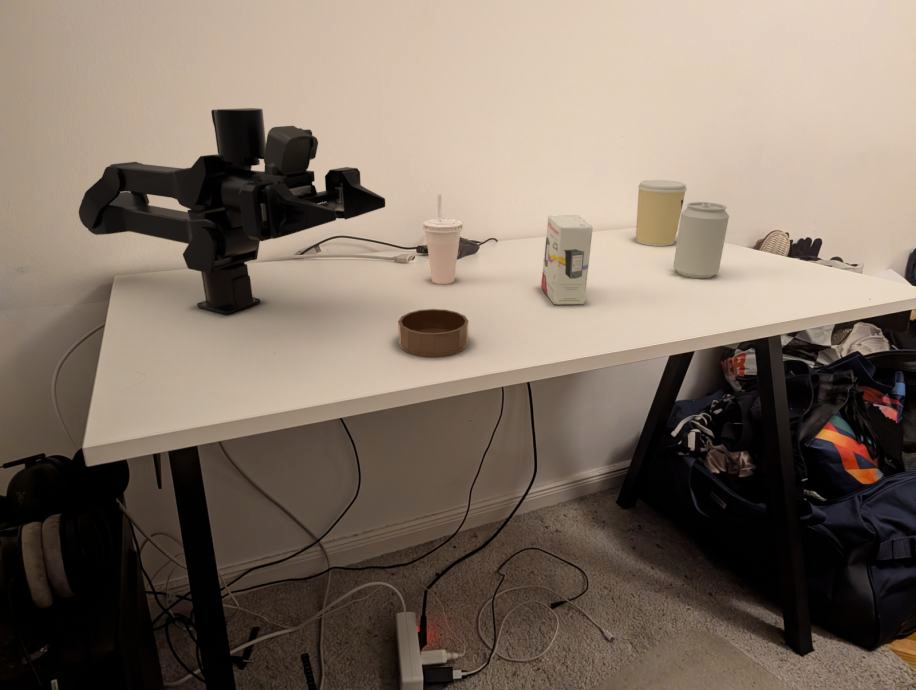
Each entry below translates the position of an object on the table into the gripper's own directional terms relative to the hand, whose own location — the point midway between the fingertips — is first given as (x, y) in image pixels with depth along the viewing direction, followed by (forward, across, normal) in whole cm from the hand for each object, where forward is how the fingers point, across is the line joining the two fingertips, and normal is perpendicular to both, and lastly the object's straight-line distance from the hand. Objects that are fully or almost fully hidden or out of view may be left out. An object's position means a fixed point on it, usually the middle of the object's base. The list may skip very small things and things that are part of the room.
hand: (361, 208), depth 71 cm
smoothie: (-5, +27, +17) cm, 32 cm away
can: (+31, +53, +16) cm, 63 cm away
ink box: (+15, +29, +17) cm, 37 cm away
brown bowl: (+8, +3, +16) cm, 19 cm away
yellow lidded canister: (+19, +73, +16) cm, 77 cm away
